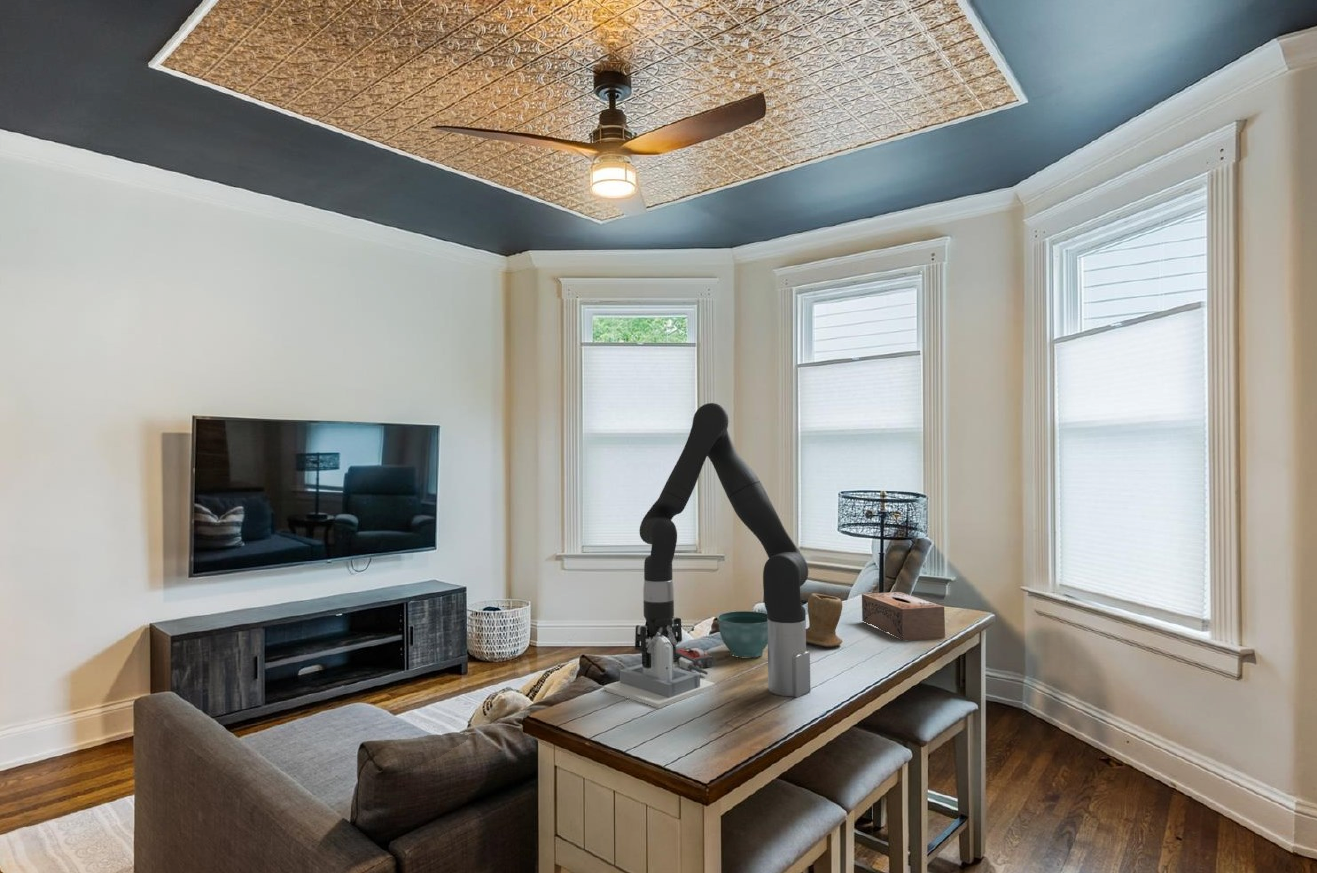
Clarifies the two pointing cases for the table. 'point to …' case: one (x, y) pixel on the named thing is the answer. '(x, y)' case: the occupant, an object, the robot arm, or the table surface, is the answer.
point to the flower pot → (744, 632)
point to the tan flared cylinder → (823, 620)
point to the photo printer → (661, 660)
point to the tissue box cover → (904, 615)
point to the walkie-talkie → (693, 659)
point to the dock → (652, 696)
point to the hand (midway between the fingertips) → (659, 664)
